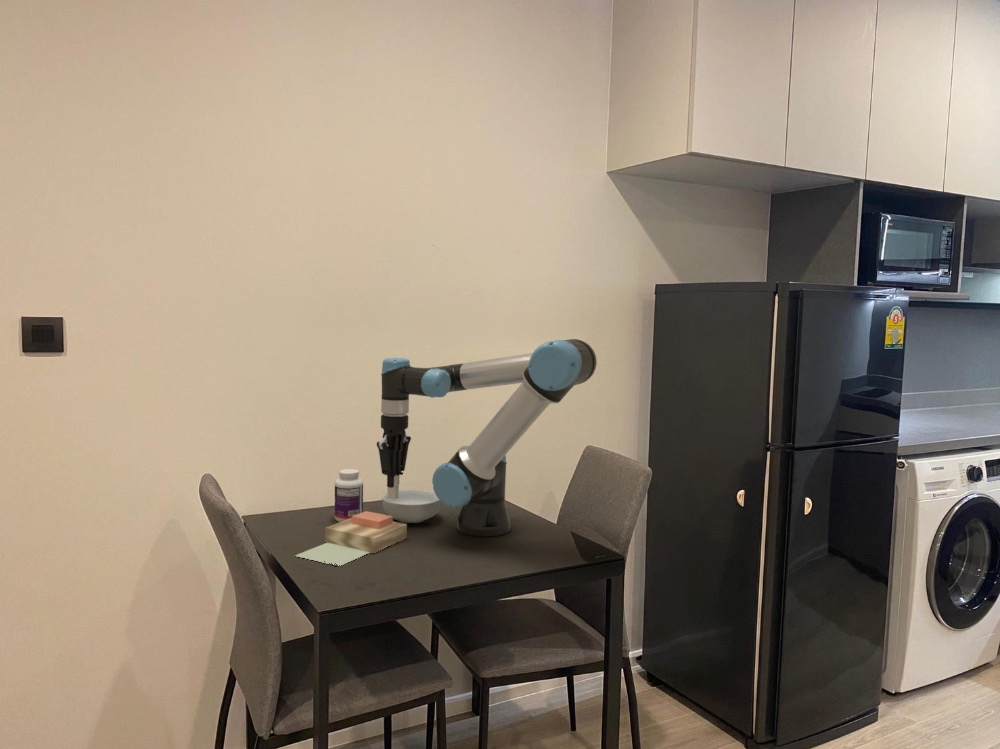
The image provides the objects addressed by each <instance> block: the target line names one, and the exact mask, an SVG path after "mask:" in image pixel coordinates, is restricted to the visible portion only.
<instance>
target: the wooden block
mask: <svg viewBox="0 0 1000 749" xmlns="http://www.w3.org/2000/svg"><path fill="white" fill-rule="evenodd" d="M407 529H408V524H407V523H402V522H399V521H393V524H391V525H388V526H386V527H383V528H381V529H375V528H370V527H365V526H360V525H355V524H352V518H350V519H347V520H345V521H342V522H337V523H335V524H332V525H329V526H326V527H325V528H324V543H325V542H326V543H327V542H329V543H333V544H338V545H342V546H346V547H351V548H355V549H360V550H364V551H368V552H371V553H370V554H372V553H375V554H377V553H379V552H381V551H383V550H382V549H384V548H386V547H388V546H390V547H392V546H394V545H396V544H395V543H397V542H399V543H401V542H403V541H405V540H407V539H406V538H407V535H408V532H407V531H408V530H407ZM404 539H405V540H404ZM402 540H403V541H402ZM400 541H401V542H400ZM393 544H394V545H393ZM397 544H398V543H397ZM391 545H392V546H391ZM388 548H389V547H388ZM386 549H387V548H386ZM380 550H381V551H380ZM384 550H385V549H384ZM378 551H379V552H378ZM376 552H377V553H376Z"/></svg>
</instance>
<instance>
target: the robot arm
mask: <svg viewBox="0 0 1000 749" xmlns="http://www.w3.org/2000/svg"><path fill="white" fill-rule="evenodd" d="M381 364H382V367H381V404H380V405H381V408H380V412H381V415H380V428H381V429H383V434H382V440H380V441H377V442H376V447H377V449H378V454H379V461H380V469H381V474H382V475H384V476H386V478H387V479H386V486H387V491H386V493H387V498H391V499H398V494H399V490H400V489H399V487H400V486H399V485H400V475H401V476H402V475H403V474H404V471H405V470H406V464H407V458H408V451H409V446H410V442H411V440H412V437H411V436H410V435H409V436H408V435H407V434H406V430H407V429H408V428H409V415H408V414H409V412H410V411H409V410H410V404H409V403H410V395H413V396H421V397H430V398H444V397H445V396H447V394H448V393H451V392H453V393H454V392H460V391H461V392H462V391H468V390H474V389H475V390H476V389H482V388H490V387H491V388H492V387H500V386H509V385H515V384H520V385H519V386H518V387H517V389H516V390H515V391H514V392H513V393H512V395H511V396H510V397H509V398H508V399H507V400H506V402H505V403H504V404H503V406H502V407H500V408H499V410H498V411H497V412H496V414H495V415H494V416H493V417H492V418H491V419H490V420H489V422H488V423H487V424H486V425H485V427H484V428H483V430H481V431H480V432H479V434H478V435H477V436H476V437H475V439H474V440H473V441H472V442H471V443H470V444H469V445H462V446H461V447H460V448H458V450H457V451H456V452H455V453H454V455H453V456H452V457H451V458H450V460H449V461H448V462H445V463H442V464H440V465H439V466H438V467H436V469H435V470H434V473H433V475H432V479H431V483H432V486H433V487H432V489H433V492H434V493H435V494H436V496H437V497H438V499H439V500H440V501H441V504H444V505H445V506H446V507H451V508H458V507H461V508H460V511H459V514H458V517H457V519H456V520H457V521H456V530H457V529H458V530H457V531H459V532H460V533H462V534H465V535H467V534H468V535H467V536H472V535H473V536H474V537H497V536H502V535H505V534H507V533H509V532H510V530H511V519H510V516H509V513H508V509H507V505H506V478H507V477H506V475H507V468H506V467H507V456H506V455H507V454H508V452H510V450H511V449H512V448H513V447H514V446H515V444H517V442H518V441H519V440H520V439H521V438H522V437H523V435H524V434H525V433H526V432H527V431H528V430H529V428H530V427H531V426H532V425H533V424H534V422H536V420H537V419H538V418H539V417H540V416H541V415H542V413H544V411H545V410H546V408H547V409H548V407H549V405H551V404H558V403H561V401H562V400H563V399H564V397H565V396H566V395H567V394H568V393H569V392H570V391H571V389H573V387H575V386H577V385H581V384H583V383H585V382H587V381H588V380H589V379H591V377H592V376H593V375H594V373H595V371H596V368H597V365H598V364H597V355H596V353H595V350H594V348H592V346H590V344H588V343H587V342H585V341H583V340H582V339H578V338H570V339H551V340H549V341H547V342H546V341H545V342H544V343H542V344H540V345H538V346H537V347H536V348H535V349H534V351H533V352H531V353H525V354H518V355H512V356H511V355H510V356H502V357H496V358H490V359H484V360H478V361H477V360H476V361H469V362H463V363H456V364H449V365H441V366H433V367H416V366H415V367H414V366H411V362H410V360H409V358H405V357H403V358H402V357H387V358H384V359H383V361H382V363H381Z"/></svg>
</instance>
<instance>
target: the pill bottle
mask: <svg viewBox="0 0 1000 749" xmlns="http://www.w3.org/2000/svg"><path fill="white" fill-rule="evenodd" d="M338 474H339V478H337V479H336V480H335V482H334V519H335V521H337V523H339V522H342V521H345V520H347V519H350V518H352V516H354V515H357V514H360V513H362V512H364V481H363V479H362V478H360V477H359V476H360V472H359V470H358V469H354V468H346V469H341V470H339V472H338Z"/></svg>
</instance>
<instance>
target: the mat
mask: <svg viewBox="0 0 1000 749" xmlns="http://www.w3.org/2000/svg"><path fill="white" fill-rule="evenodd" d="M369 553H370V554H372V553H371V552H368V551H364V550H360V549H355V548H351V547H346V546H342V545H338V544H333V543H329V542H327V543H325V542H324V543H323V544H321V545H318V546H315V547H313V548H310V549H307V550H305V551H303V552H300V553H298V554H296V555H294V557H295V556H296V557H295V558H297V557H300V558H299V559H302V558H305V559H304V560H306V559H309V560H308V561H310V560H314V561H318V562H322V563H326V564H329V563H330V564H331V563H332V564H333V565H334V564H335V563H336V564H337V565H338V566H339V565H340V566H341V565H344V564H346V563H348V562H350V563H352V562H351V561H353V560H355V559H357V560H359V559H361V558H363V557H362V556H364V555H366V554H368V555H370V554H369ZM366 556H367V555H366ZM360 557H361V558H360ZM364 557H365V556H364ZM358 558H359V559H358ZM314 561H313V562H314ZM324 561H325V562H324ZM355 561H356V560H355ZM318 562H317V563H318ZM353 562H354V561H353ZM322 563H321V564H322ZM326 564H325V565H326ZM336 564H335V565H336ZM348 564H349V563H348ZM346 565H347V564H346ZM344 566H345V565H344Z"/></svg>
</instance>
